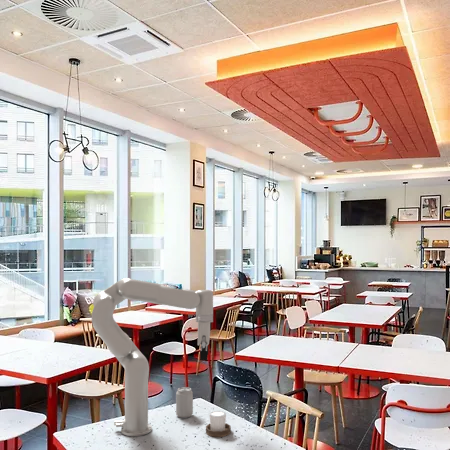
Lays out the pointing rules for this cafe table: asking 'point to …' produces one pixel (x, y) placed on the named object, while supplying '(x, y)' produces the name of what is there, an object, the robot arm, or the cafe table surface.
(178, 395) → the can
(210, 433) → the round bowl
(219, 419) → the white tapered cylinder
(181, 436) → the cafe table surface
